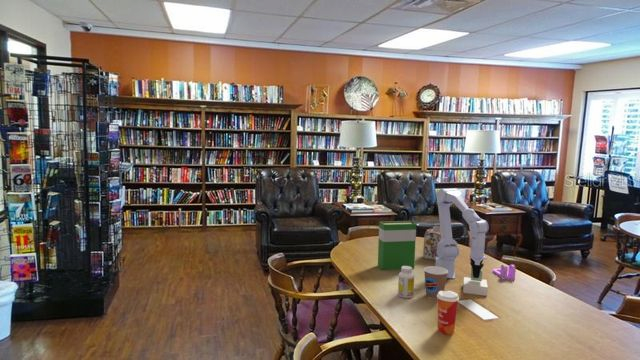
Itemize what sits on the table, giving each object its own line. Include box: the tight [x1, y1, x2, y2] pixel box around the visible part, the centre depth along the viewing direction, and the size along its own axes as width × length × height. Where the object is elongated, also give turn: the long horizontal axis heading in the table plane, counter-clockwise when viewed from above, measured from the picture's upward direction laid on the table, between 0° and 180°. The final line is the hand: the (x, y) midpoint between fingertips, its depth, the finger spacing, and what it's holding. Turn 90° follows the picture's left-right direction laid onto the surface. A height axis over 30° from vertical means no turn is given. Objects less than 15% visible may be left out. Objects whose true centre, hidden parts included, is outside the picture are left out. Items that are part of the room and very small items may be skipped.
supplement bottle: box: [397, 266, 415, 299], centre depth 182 cm, size 7×7×13 cm
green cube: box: [470, 266, 483, 282], centre depth 190 cm, size 4×4×5 cm
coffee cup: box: [423, 265, 448, 300], centre depth 182 cm, size 10×10×12 cm
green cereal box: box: [377, 220, 417, 271], centre depth 221 cm, size 18×7×24 cm, turn 102°
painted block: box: [462, 276, 489, 297], centre depth 191 cm, size 10×10×4 cm
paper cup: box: [437, 290, 460, 336], centre depth 150 cm, size 8×8×14 cm
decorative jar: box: [422, 225, 450, 261], centre depth 239 cm, size 12×12×18 cm
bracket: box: [492, 264, 516, 280], centre depth 212 cm, size 13×6×7 cm, turn 7°
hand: (475, 275), depth 190 cm, fingers closed on green cube, 4 cm apart
